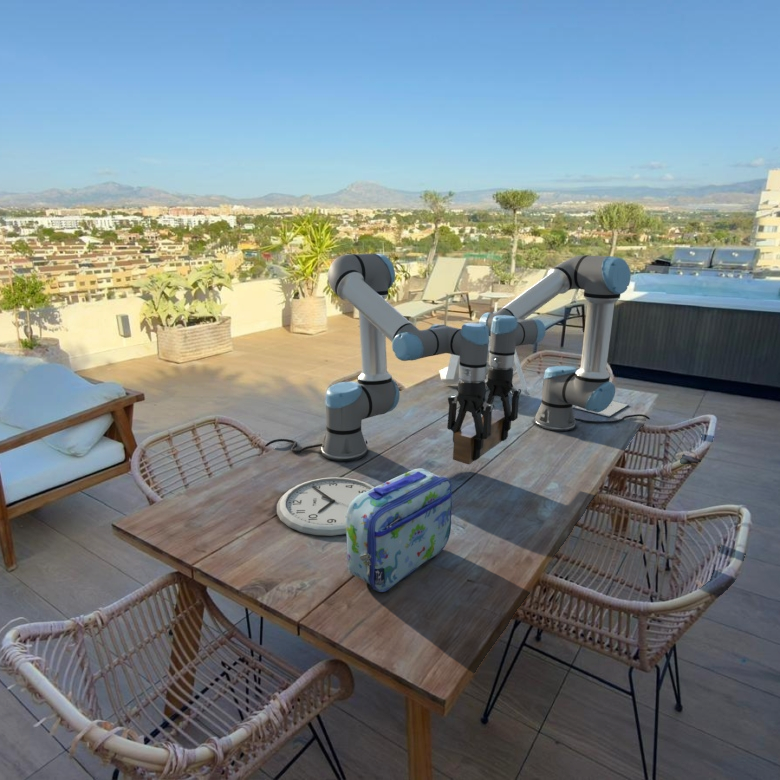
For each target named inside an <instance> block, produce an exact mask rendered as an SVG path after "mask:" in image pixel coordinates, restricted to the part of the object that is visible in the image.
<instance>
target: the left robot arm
mask: <svg viewBox="0 0 780 780" xmlns="http://www.w3.org/2000/svg"><path fill="white" fill-rule="evenodd" d="M327 280H328V285H329V287H330V288H331V290H332V292H333V293H334V294H335V295H336V296H337V297H338V298H339V299H340V300H342V301H347V302H349V303H350V304H351V305H352V306H353V308H355V309H356V310H357V311H358V323H359V340H360V341H359V343H360V360H361V373H360V374H359V375H358V376H357V381H340V382H337V383H335V384H332V385H330V386H329V387H328V388H327V390H326V392H325V400H324V404H325V424H326V425H325V426H326V428H325V429H326V431H325V435H324V437H323V439H322V440H323V441H322V443H317V444H311V445H307V446H304V447H302V448H300V449H295V448H296V447H297V446H298V442H297V441H296V440H293V439H288V438H277V439H272V440H271V441H268V442H266V443H265V445H264V447H268V446H270V445H271V444H274V443H279V442H287V443H291V444H293V445H292V446H291V449H290V451H291V452H292V453H294V454H298V453H302V452H304V451H305V450H308V449H314V448H319V447H320V448H321V449H320V450H321V451H320V452H321V455H322V457H324V458H325V459H327V460H331V461H335V462H353V461H356V460H359V459H361V458H364V457H365V456H366V455H367V453H368V446H367V444H368V441H367V439H365V438H364V434H363V431H362V420H365V419H369V418H372V417H377V416H380V415H385V414H387V413H389V412H392V411H393V410H394V409H395V408H397V406H398V403H399V402H400V396H401V395H400V393H401V392H400V388H399V386H397V385H398V383H397V382H396V381H395V380H394V379H393V376H392V374H391V373H389V371H388V362H387V360H388V359H387V339H388V340H389V341H390V342H391V349H392V352H393V353H394V356H395V357H396V358H397V359H398V360H400V361H401V362H402V361H403V362H407V361H418V360H420V359H424V358H428V357H433V356H439V355H444V354H449V355H451V354H453V355H457V356H460V363H459V378H460V379H459V381H458V384H457V394H456V395H451V396H449V397H448V398H447V402H448V414H447V427H446V428H447V430H449V431H452V443H453V444H454V433H456V432H458V431H459V430H461V429H462V426H463V423H464V420H465V417H466V414H467V412H469V413H470V414H471V416H472V418H473V422H474V424H475V430H476V435H477V438H475V439H474V452H473V460H474V461H473V462H475V461H477V460H479V459H480V458H481V456H480V450H481V449H482V448H483V443H484V439H487V438H488V437H490V436H491V418H492V411H493V410H494V408H495V405H494V403H493V404H491V405H490V404H488V403H487V401H486V397H485V398H484V394H485V384H486V382H487V381H486V379H487V375H486V369H487V354H488V345H490V336H489V328H488V326H486V325H484V324H479V322H478V323H477V322H476V323H475V322H469V323H468V322H467V323H463V324H462V326H461V328H458V327H453V326H448V325H446V324H432V325H431V326H430V327H429V328H426V329H419V328H417V326H415V325H414V324H413V323H412V322H411V321H409V319H407V318H406V317H405V316H404V315H402V313H400V312H399V311H398V310H397V309H396V308H395V307H394V306H393V305H391V304H390V303H389V302H388V301H387V300H386V299H387V297H388V296H389V289H390V288H391V287H392V286H393V285H394V283H395V280H396V271H395V267H394V265H393V262H392V260H391V259H390V258H388V256H386V255H385V254H383V253H375V252H371V253H348V254H347V253H346V254H345V253H344V254H342V255H339V256H338V257H336V258H335V259H334V260H333V261H332V262H331V263H330V266H329V268H328V271H327ZM458 404H459V409H458ZM482 406H484V411H485V412H484V423H482V418H481V417H482V414H481V407H482ZM457 409H458V413H457Z"/></svg>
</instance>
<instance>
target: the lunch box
mask: <svg viewBox="0 0 780 780" xmlns="http://www.w3.org/2000/svg"><path fill="white" fill-rule="evenodd" d="M374 487H375V488H373V489H370V490H368V491H366V492H364V493H362V494H360V495H358V496H357V497H356V498H354V500H353V501H352V502H351V504H350V505H349V507H348V510H347V515H346V534H345V535H346V559H347V561H346V562H347V567H348V571H349V573H350V574H351V575H353V576H354V577H357V578H358V579H361V580H362V581H364V582H365V583H366V584H368V585H370V587H371V588H372V589H373V590H375V591H377V592H379V593H385V592H387V591H389V590H390V589H392V588H393V587H394V586H395V585H396V584H397V583H399V582H401V581H402V580H403V579H404V578H406V577H408V576H409V575H411V573H413V572H414V571H415V570H417V569H418V568H419V567H420V566H422V564H424V563H426V562H428V560H431V559H433V558H435V557H436V556H437V555H438V554H440V553H441V552H442V551H443V550H444V549H445V547H446V546H447V543H448V541H449V539H450V536H451V531H452V511H453V510H452V509H453V508H452V507H453V504H452V503H453V501H452V500H453V499H452V483H451V480H450V479H449V478H448V477H446V476H439V475H437V474H435V473H433V472H432V471H429V470H428V469H426V468H423V467H421V468H419V467H418V468H414V469H412V470H409V471H406V472H405V473H403V474H400V475H398V476H396V477H394V478H391V479H390V480H387V481H385V482H383V483H381V484H378V485H376V486H374Z"/></svg>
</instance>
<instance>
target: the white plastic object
mask: <svg viewBox="0 0 780 780" xmlns="http://www.w3.org/2000/svg"><path fill="white" fill-rule="evenodd" d="M496 312H497V311H496V310H495V311H492V313H496ZM489 354H490V344H489V345H488V354H487V369H486V376H488V368H489V366H490V365H489ZM459 363H460V356H457V355H453V354H450V357H449V362H448V366H446V367H444V368H442V369H440V370H439V371H438V372H439V376H440V381H442V383H443V384H444V385H445V386H449V385H458V381H459V379H460V378H459ZM514 366H515V369H516V372H517V376H518V380H519V382H520V385H521V390H522V391H523V393H524V395H525V396H526V397H528V396H531V395H530V390H529V388H528V387H529V386H528V384H527V381H526V378H525V375H524V371H523V369H522V368H523V367H522V366H521V362H520V359H519V355H518V352H517V349H516V348H515V355H514ZM512 384H513V387H514V388H515V385H514V381H513V380H512ZM509 393H510V394H511V395H512V391H510V392H509Z"/></svg>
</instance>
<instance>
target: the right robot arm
mask: <svg viewBox="0 0 780 780" xmlns="http://www.w3.org/2000/svg"><path fill="white" fill-rule="evenodd" d="M631 278H632V277H631V269H630V266H629V264H628V263H627V261H626V260H625V259H624V258H621V257H617V256H610V255H609V256H608V255H588V254H580V255H576V256H573V257H571V258H568V259H566V260H564V261H562V262H560V263H558V264H557V265H556V266H554V267H552V268H551V269H550V270H548V271H547V273H546V276H544V277H543V278H542V279H540V280H539V281H538V282H537V283H535V284H534V285H532V286H531V287H529V288H528V289H527V290H525V291H523V292H522V293H521V294H520V295H518V296H517V297H515V298H514V299H513V300H511V301H510V302H509V303H507V304H506V305H504V306H503V307H502V308H500V309H499V310H497V311H496V313H493V312H485V313H483V314H482V315H481V316H480V318H479V321H478V323H479V324H484V325H486V326H488V328H489V345H490V354H489V365H490V366H489V368H488V374H487V380H486V381H485V382H486V384H485V394H484V398H485V399H486V395H487V389H488V390H489V392H488V395H487V399H486V402H487V403H488V404H490V405H491V404H493V405H494V401H495V399H496V398H495V397H499V398H500V401H501V405H502V409H503V411H502V412H504V416H505V420H504V421H503V424H502V436H501V441H502V442H504V441H506V440H507V439H508V437H507V432H508V433H509V431H510V430H511V429H512V422H514V421H516V420H518V417H519V402H520V395H521V393H522V388H516V387H515V386H514V387H513V385H514V383H513V384H512V381H513V378H514V368H513V367H514V366H515V363H514V355H515V349H516V347H519V346H526V345H527V346H528V345H534V344H537V343H540V342H541V341H543V340H544V338H545V337H546V326H545V323H544V322H543V321H542V320H540V319H537V318H535V319H534V318H530V319H528V318H529V316H531V315H533V314H534V313H536V312H537V311H538V310H539V309H540V308H542V307H543V306H545V305H546V304H548V303H549V302H550V301H552V300H553V299H554V298H556V297H557V296H558V295H563V294H566V293H567V292H568V291H570V290H583V298H584V299H585V301H587V304H586V305H587V306H586V315H585V324H584V330H583V331H584V333H583V342H582V351H581V360H580V367H579V368H577V367H575V366H571V365H570V366H569V365H557V366H556V365H555V366H550V367H547V368H546V369H545V371H544V375H543V378H542V379H543V381H542V392H541V402H540V405H539V407H538V410H537V411H536V413H535V417H534V424H535V425H536V426H537V427H539V428H542V429H544V430H549V431H556V432H567V431H572V430H574V429H575V428H576V421H577V422H582V423H588V424H589V423H590V424H614V423H620V422H622V421H624V420H625V419H627V418H635V417H643V418H645V419H647V420H651V418H650V417H649V416H648V415H646V414H642V413H638V414H627V415H624V416H622V418H619V419H614V420H586V419H581V418H577V417H576V416H575V413H574V407H576V406H578V407H581V408H584V409H586V410H588V411H594V412H601V411H603V410H605V409H606V408H607V407H608V406H609V405H610V403H611V402H612V401H614V397H615V394H616V386H615V384H614V383H613V382H611V381H610V378H611V375H610V373H609V371H607V365H608V358H609V350H610V341H611V333H612V326H613V319H614V312H615V311H614V310H615V303H616V302H617V301H618V300H620V299H621V295H622V294H624V293H625V292H626V291H627V290H628V287H629V286H630V284H631ZM510 391H512V394H511V395H512V396H511V404H510V394H509V393H511V392H510ZM573 406H574V407H573ZM588 411H587V412H588ZM484 412H485V411H484V406H482V407H481V416H482V417H483V416H484Z"/></svg>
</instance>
